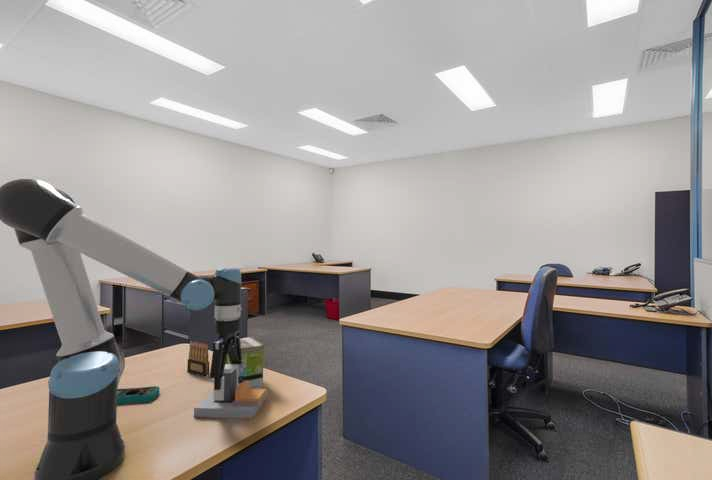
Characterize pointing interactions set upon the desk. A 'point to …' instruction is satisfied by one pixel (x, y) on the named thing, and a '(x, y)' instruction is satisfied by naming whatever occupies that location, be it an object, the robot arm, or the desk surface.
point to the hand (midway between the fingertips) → (226, 392)
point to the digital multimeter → (137, 395)
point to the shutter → (248, 393)
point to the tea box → (250, 362)
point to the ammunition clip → (198, 359)
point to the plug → (229, 383)
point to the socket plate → (226, 408)
